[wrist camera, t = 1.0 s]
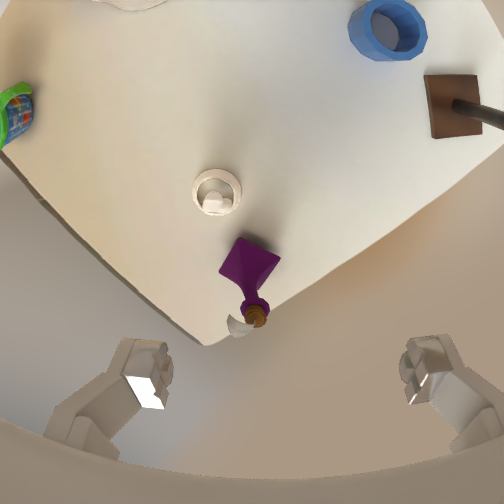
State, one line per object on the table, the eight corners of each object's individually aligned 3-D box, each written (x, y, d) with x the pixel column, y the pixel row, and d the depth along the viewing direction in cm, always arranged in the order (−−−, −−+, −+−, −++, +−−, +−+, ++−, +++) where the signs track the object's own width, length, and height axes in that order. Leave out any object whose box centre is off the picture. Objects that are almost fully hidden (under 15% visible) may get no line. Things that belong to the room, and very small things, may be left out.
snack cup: (11, 158, 44) (-23, 177, 36) (-9, 117, 40) (-45, 131, 31) (58, 110, 40) (19, 122, 32) (35, 64, 36) (-5, 70, 27)
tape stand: (423, 75, 36) (487, 83, 22) (472, 74, 34) (540, 87, 20) (431, 137, 40) (491, 170, 27) (478, 132, 39) (541, 163, 25)
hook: (249, 149, 39) (252, 203, 38) (237, 176, 51) (240, 218, 50) (190, 151, 38) (191, 205, 37) (191, 178, 49) (193, 220, 49)
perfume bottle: (280, 247, 52) (284, 325, 37) (258, 278, 56) (254, 358, 41) (240, 227, 51) (228, 301, 35) (220, 261, 54) (203, 338, 39)
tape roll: (339, 44, 35) (352, 39, 29) (359, -4, 30) (374, -16, 24) (394, 71, 36) (414, 72, 30) (412, 24, 31) (434, 19, 25)
